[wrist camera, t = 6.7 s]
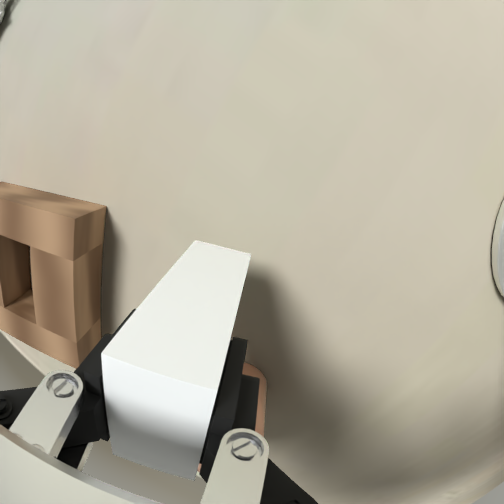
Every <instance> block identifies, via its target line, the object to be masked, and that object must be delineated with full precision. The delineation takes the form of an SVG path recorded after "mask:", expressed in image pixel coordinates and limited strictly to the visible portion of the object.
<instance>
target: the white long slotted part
mask: <svg viewBox="0 0 504 504" xmlns="http://www.w3.org/2000/svg"><path fill="white" fill-rule="evenodd" d="M6 2H7V0H5V1H4V0H0V23H1V22H2V20H3V17H4V14H5V12H4V9H5V4H6Z"/></svg>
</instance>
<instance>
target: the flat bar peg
mask: <svg viewBox="0 0 504 504" xmlns="http://www.w3.org/2000/svg"><path fill="white" fill-rule="evenodd" d="M250 258H251V254H249V253H245V252H241V251H238V250H234V249H230V248H226V247H222V246H218V245H214V244H210V243H206V242H202V241H198V240H195V241H194V242H193V243H192V245H191V246H190V247H189V248H188V249H187V250H186V251H185V253H184V254H183V255H182V256H181V257H180V258H179V259H178V261H177V262H176V263H175V264H174V265H173V266H172V268H171V269H170V270H169V271H168V272H167V273H166V275H165V276H164V277H163V278H162V279H161V280H160V282H159V283H158V284H157V285H156V286H155V288H154V289H153V290H152V291H151V292H150V294H149V295H148V296H147V297H146V298H145V300H144V301H143V302H142V303H141V304H140V306H139V307H138V308H137V309H136V310H135V312H134V313H133V314H132V315H131V317H130V318H129V319H128V320H127V321H126V323H125V324H124V325H123V326H122V328H121V329H120V330H119V331H118V333H117V334H116V335H115V336H114V338H113V339H112V340H111V341H110V343H109V344H108V345H107V346H106V348H105V349H104V350H103V352H102V353H101V358H102V373H103V385H104V395H105V404H106V412H107V420H108V427H109V434H110V440H111V446H112V452H113V454H114V455H116V456H119V457H121V458H124V459H127V460H130V461H132V462H135V463H138V464H140V465H144V466H146V467H149V468H152V469H155V470H159V471H162V472H165V473H169V474H172V475H175V476H179V477H183V478H186V479H190V480H195V477H196V473H197V469H198V465H199V461H200V457H201V454H202V450H203V446H204V442H205V438H206V434H207V430H208V426H209V422H210V418H211V414H212V410H213V406H214V403H215V399H216V395H217V391H218V387H219V383H220V379H221V375H222V371H223V367H224V363H225V358H226V354H227V350H228V346H229V342H230V338H231V334H232V330H233V326H234V322H235V318H236V314H237V310H238V306H239V302H240V298H241V294H242V290H243V286H244V282H245V278H246V274H247V270H248V266H249V262H250Z"/></svg>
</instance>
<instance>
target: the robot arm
mask: <svg viewBox="0 0 504 504" xmlns="http://www.w3.org/2000/svg"><path fill="white" fill-rule="evenodd" d="M492 268H493V276H494V279H495V283H496V286H497V288H498V290H499V292H500V293H501V295H502V296H503V297H504V200H503V202H502V204H501V207H500V210H499V214H498V217H497V220H496V225H495V230H494V234H493V243H492ZM135 310H136V309H134V310H132V312H131V313H130V314H129V315H128V316H127V318H126V319H125V320H124V321H123V323H122V324H121V325H120V326H119V327H118V329H117V330H116V331H115V332H114V333H113V335H110V334H106V335H104V336H103V338H102V339H101V340H100V341H99V342H98V343H97V345H96V346H95V347H94V348H93V349H92V351H91V352H90V353H89V354H88V356H87V357H86V358H85V359H84V360H83V362H82V363H81V364H80V365H79V367H78V368H77V369H76V370H75V371H74V373H73V372H71V371H67V370H56V371H52V372H51V373H49V374H47V375H46V376H45V377H44V379H43V380H42V382H41V383H40V384H39V386H38V387H32V388H24V389H16V390H7V391H0V504H164V503H161V502H158V501H155V500H151V499H148V498H145V497H142V496H139V495H137V494H134V493H131V492H128V491H126V490H123V489H120V488H118V487H115V486H113V485H110V484H108V483H105V482H103V481H101V480H99V479H96V478H94V477H92V476H90V475H87V474H85V473H83V472H82V470H83V468H84V465H85V463H86V460H87V458H88V455H89V453H90V451H91V448H92V446H93V442H94V441H99V440H100V438H101V439H103V440H105V441H108V440H109V438H110V434H109V427H108V420H107V412H106V404H105V395H104V385H103V373H102V358H101V353H102V352H103V350H104V349H105V348H106V346H107V345H108V344H109V343H110V341H111V340H112V339H113V338H114V336H115V335H116V334H117V333H118V331H119V330H120V329H121V328H122V326H123V325H124V324H125V323H126V321H127V320H128V319H129V318H130V317H131V315H132V314H133V313H134V312H135ZM246 347H247V340H244V339H240V338H236V337H233V340H230V342H229V346H228V350H227V354H226V358H225V363H224V367H223V371H222V375H221V379H220V383H219V387H218V391H217V395H216V399H215V403H214V406H213V410H212V414H211V418H210V422H209V426H208V430H207V434H206V438H205V442H204V446H203V450H202V454H201V457H200V461H199V464H201V468H200V475H201V477H202V478H203V479H204V480H205V481H206V483H207V485H206V488H205V491H204V494H203V497H202V500H201V503H200V504H318V503H317V502H316V501H315V500H314V499H313V498H312V497H311V496H310V495H308V494H307V493H306V492H305V491H304V490H303V489H302V488H300V487H299V486H298V485H297V484H296V483H295V482H294V481H292V480H291V479H290V478H289V477H288V476H287V475H286V474H285V473H284V472H283V471H282V470H280V469H279V468H278V467H277V466H276V465H275V464H274V463H273V462H272V461H271V460H270V459H269V458H268V456H269V445H268V443H267V441H266V440H265V438H264V437H263V436H262V435H260V434H259V433H257V432H255V427H256V417H257V406H258V395H259V384H260V378H258V377H253V376H249V375H244V374H242V371H243V365H244V359H245V353H246Z"/></svg>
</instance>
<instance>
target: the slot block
mask: <svg viewBox="0 0 504 504" xmlns="http://www.w3.org/2000/svg"><path fill="white" fill-rule="evenodd" d="M105 216H106V206H104V205H99V204H95V203H91V202H87V201H83V200H78V199H74V198H70V197H66V196H61V195H57V194H53V193H49V192H44V191H40V190H36V189H31V188H27V187H23V186H18V185H14V184H10V183H5V182H0V329H1V330H3V331H4V332H6V333H8V334H10V335H11V336H13V337H15V338H17V339H18V340H20V341H22V342H24V343H26V344H27V345H29V346H31V347H33V348H35V349H37V350H39V351H41V352H43V353H45V354H47V355H49V356H51V357H53V358H55V359H57V360H59V361H61V362H63V363H65V364H67V365H69V366H72V367H74V368H76V369H77V368H78V367H79V365H80V364H81V363H82V362H83V360H84V359H85V358H86V357H87V356H88V354H89V353H90V352H91V351H92V349H93V348H94V347H95V346H96V345H97V343H98V342H99V341H100V340H101V272H102V253H103V238H104V226H105ZM29 246H30V260H31V277H32V289H31V282H30V267H29Z"/></svg>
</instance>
